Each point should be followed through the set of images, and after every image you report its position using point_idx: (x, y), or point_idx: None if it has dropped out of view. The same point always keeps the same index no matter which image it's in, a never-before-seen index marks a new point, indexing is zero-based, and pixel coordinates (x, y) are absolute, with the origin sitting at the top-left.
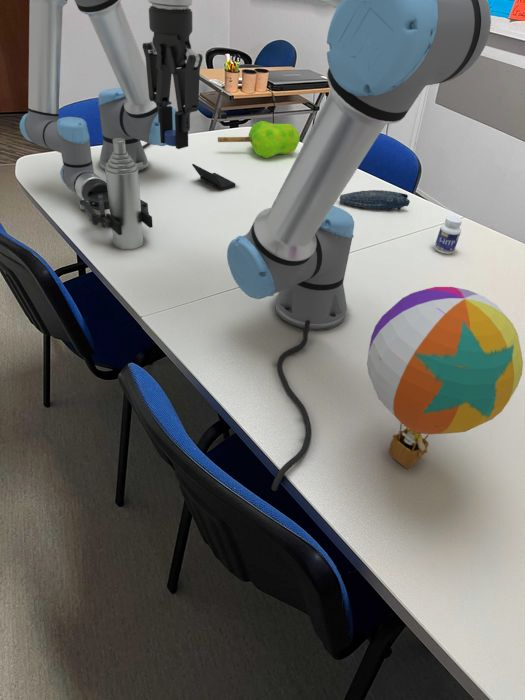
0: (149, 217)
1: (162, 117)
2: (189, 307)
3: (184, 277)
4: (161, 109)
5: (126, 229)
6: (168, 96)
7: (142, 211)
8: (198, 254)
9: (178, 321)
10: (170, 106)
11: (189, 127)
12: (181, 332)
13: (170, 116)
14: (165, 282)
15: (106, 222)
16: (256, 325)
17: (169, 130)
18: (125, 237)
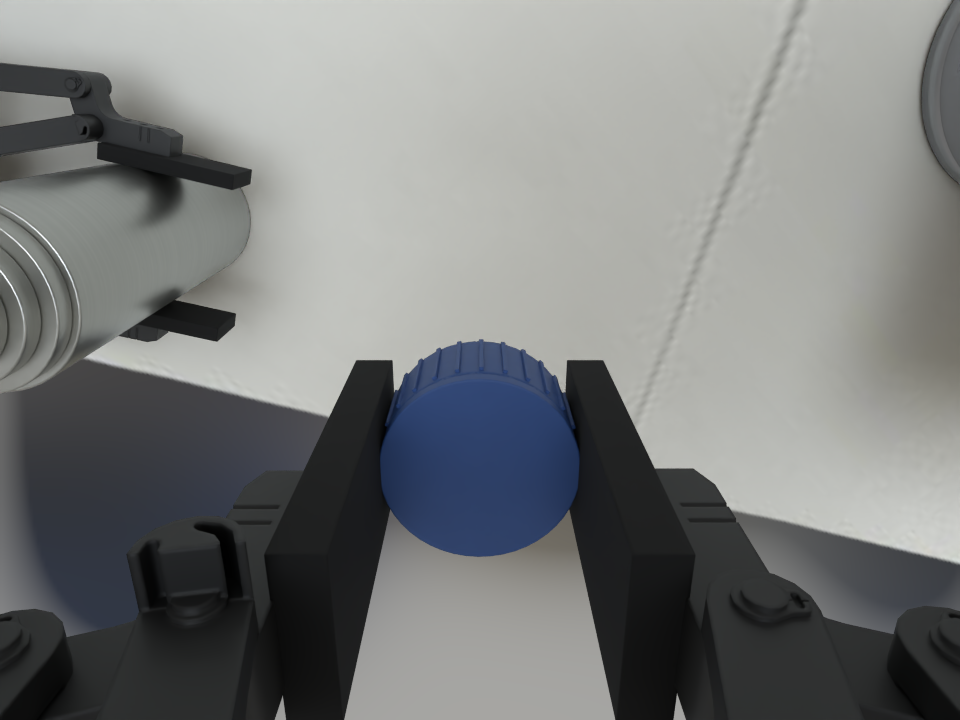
0: (232, 187)
1: (360, 632)
2: (684, 361)
3: (544, 243)
4: (334, 715)
5: (207, 273)
6: (242, 716)
7: (155, 168)
8: (453, 64)
9: (706, 431)
10: (293, 559)
11: (718, 497)
12: (747, 459)
13: (354, 511)
14: (520, 314)
15: (148, 340)
16: (920, 285)
17: (397, 465)
18: (218, 270)
